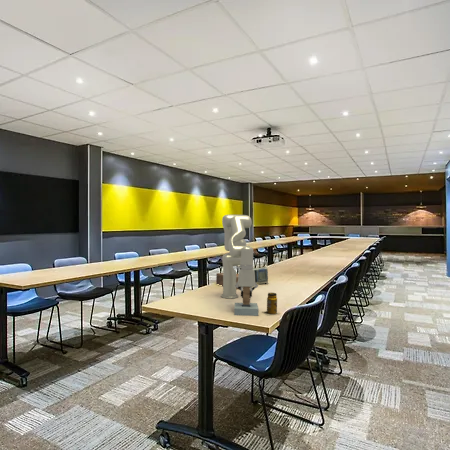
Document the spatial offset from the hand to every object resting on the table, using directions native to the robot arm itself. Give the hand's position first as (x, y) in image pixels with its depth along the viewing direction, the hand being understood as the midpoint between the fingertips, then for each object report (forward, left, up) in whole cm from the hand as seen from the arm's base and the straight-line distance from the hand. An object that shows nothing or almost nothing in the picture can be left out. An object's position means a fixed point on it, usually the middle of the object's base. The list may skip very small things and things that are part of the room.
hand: (246, 297), depth 203 cm
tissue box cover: (-81, -10, -9) cm, 82 cm away
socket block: (0, 0, -9) cm, 9 cm away
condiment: (+1, +15, -9) cm, 17 cm away
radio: (-93, +11, -9) cm, 94 cm away
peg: (0, 0, -4) cm, 4 cm away
